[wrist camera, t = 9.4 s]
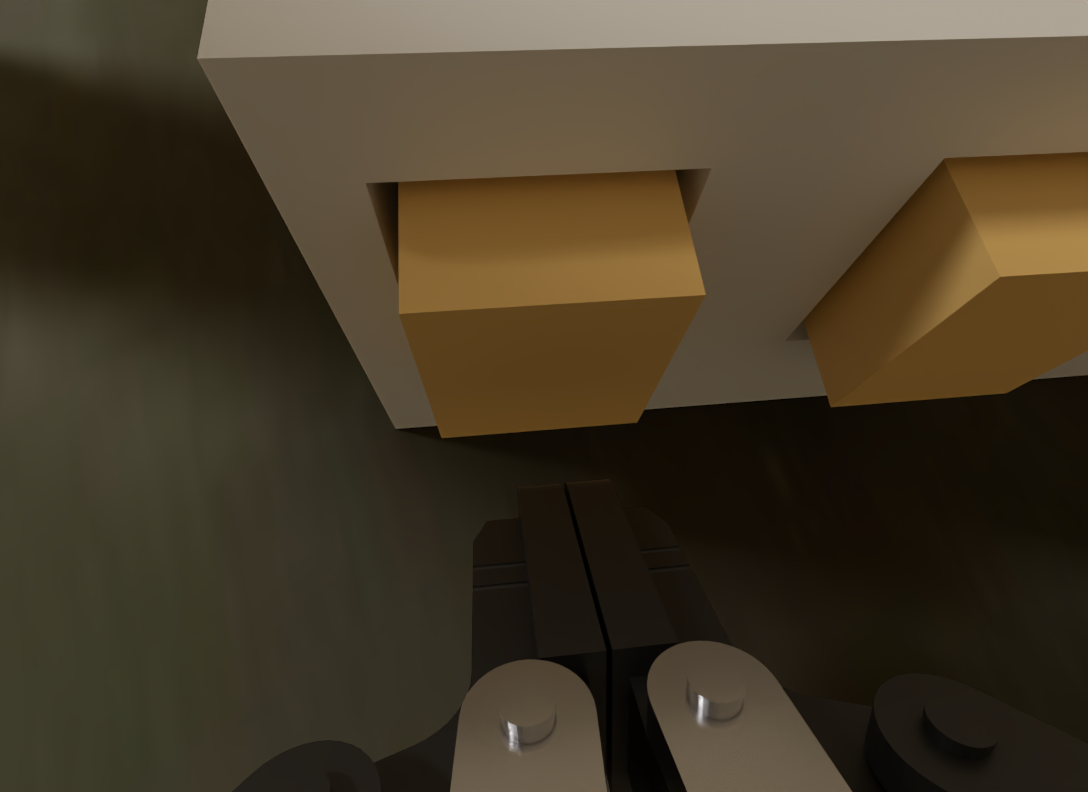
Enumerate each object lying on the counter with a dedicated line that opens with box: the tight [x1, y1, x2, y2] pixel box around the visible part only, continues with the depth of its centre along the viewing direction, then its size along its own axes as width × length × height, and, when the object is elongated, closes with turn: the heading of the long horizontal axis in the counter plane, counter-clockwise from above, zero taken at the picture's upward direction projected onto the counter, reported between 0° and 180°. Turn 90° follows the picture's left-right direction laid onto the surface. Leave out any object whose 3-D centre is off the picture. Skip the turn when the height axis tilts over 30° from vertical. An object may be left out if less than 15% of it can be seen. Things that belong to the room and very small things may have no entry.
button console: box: [197, 0, 1088, 429], centre depth 15 cm, size 26×11×12 cm, turn 96°
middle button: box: [803, 152, 1088, 407], centre depth 12 cm, size 4×3×5 cm
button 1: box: [398, 170, 706, 438], centre depth 11 cm, size 4×3×5 cm
